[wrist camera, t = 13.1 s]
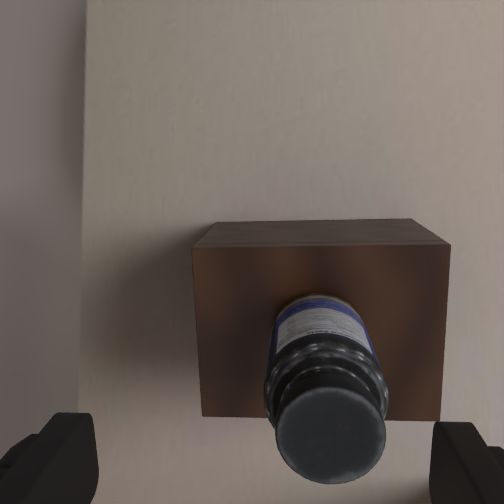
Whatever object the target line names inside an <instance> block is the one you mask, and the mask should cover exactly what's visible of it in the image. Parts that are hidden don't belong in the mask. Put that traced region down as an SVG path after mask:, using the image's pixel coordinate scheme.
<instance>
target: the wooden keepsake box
mask: <svg viewBox="0 0 504 504" xmlns="http://www.w3.org/2000/svg"><path fill="white" fill-rule="evenodd" d="M191 250H192V266H193V281H194V297H195V313H196V329H197V345H198V361H199V377H200V393H201V408H202V416H203V417H250V418H268V416H267V414H266V410H265V406H264V399H263V392H264V391H263V390H264V381H265V374H266V367H267V358H268V350H269V342H270V335H271V328H272V325H273V323H274V321H275V319H276V317H277V315H278V314H279V313H280V311H281V310H282V309H283V308H284V306H286V305H287V304H288V303H289V302H290V301H292V300H293V299H295V298H298V297H301V296H303V295H307V294H312V293H323V294H329V295H333V296H335V297H338V298H340V299H342V300H344V301H346V302H347V303H349V304H350V305H351V306H352V307H353V308H354V309H355V310H356V311H357V312H358V313H359V315H360V317H361V319H362V321H363V323H364V325H365V328H366V330H367V333H368V335H369V338H370V341H371V343H372V346H373V348H374V351H375V354H376V356H377V359H378V361H379V364H380V366H381V369H382V371H383V374H384V376H385V379H386V382H387V387H388V391H389V394H388V396H389V401H388V409H387V414H386V417H385V420H394V421H440V412H441V396H442V380H443V365H444V349H445V333H446V317H447V301H448V285H449V269H450V253H451V245H450V244H449V243H447V242H446V241H444V240H443V239H441V238H440V237H438V236H437V235H435V234H434V233H432V232H431V231H429V230H428V229H426V228H425V227H423V226H422V225H420V224H419V223H417V222H416V221H414V220H413V219H363V220H307V221H252V222H216V223H215V225H214V226H213V227H212V228H211V229H210V230H209V231H208V232H207V233H206V234H205V235H204V236H203V237H202V238H201V239H200V240H199V241H198V242H197V243H196V244H195V245H194V246H193V247H192V249H191Z"/></svg>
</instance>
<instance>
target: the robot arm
mask: <svg viewBox="0 0 504 504" xmlns="http://www.w3.org/2000/svg"><path fill="white" fill-rule="evenodd" d="M98 477H99V467H98V458H97V450H96V441H95V433H94V424H93V419H92V416H91V415H90V414H89V413H62V412H61V413H60V412H59V413H56V414H55V415H54V416H53V417H52V418H51V419H50V420H49V422H48V423H47V424H46V425H45V427H44V428H43V429H42V430H41V431H40V433H39V434H31V435H29V436H28V437H26V438H25V439H24V440H22V441H21V442H19V443H17V444H16V445H14V446H13V447H12V448H10V449H9V451H8V452H7V453H6V454H5V455H4V456H3V458H2V459H1V460H0V504H90V503H91V501H92V499H93V497H94V495H95V492H96V488H97V484H98ZM429 491H430V498H431V503H432V504H504V450H503V449H502V448H501V447H495V446H487V445H486V443H485V442H484V440H483V439H482V437H481V435H480V434H479V432H478V431H477V429H476V428H475V426H474V425H473V424H472V423H471V422H435V424H434V428H433V437H432V449H431V462H430V474H429Z"/></svg>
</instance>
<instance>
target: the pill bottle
mask: <svg viewBox="0 0 504 504" xmlns="http://www.w3.org/2000/svg"><path fill="white" fill-rule="evenodd" d="M263 391H264V392H263V399H264V406H265V410H266V414H267V416H268V419H269V421H270V423H271V424H272V426H273V428H274V429H275V436H276V443H277V447H278V450H279V452H280V454H281V456H282V458H283V459H284V461H285V462H286V463H287V465H288V466H289V467H290V468H291V469H292V470H293V471H295V472H296V473H298V474H299V475H301V476H302V477H304V478H306V479H309V480H310V481H314V482H318V483H323V484H341V483H347V482H350V481H353V480H355V479H358V478H360V477H361V476H364V475H365V474H366V473H368V472H369V471H370V470H371V469H372V468H373V467H374V466H375V465H376V464H377V462H378V461H379V459H380V457H381V455H382V452H383V450H384V447H385V442H386V428H385V423H384V420H385V417H386V414H387V409H388V401H389V396H388V394H389V391H388V387H387V382H386V379H385V376H384V374H383V371H382V369H381V366H380V364H379V361H378V359H377V356H376V354H375V351H374V348H373V346H372V343H371V341H370V338H369V335H368V333H367V330H366V328H365V325H364V323H363V321H362V319H361V317H360V315H359V313H358V312H357V311H356V310H355V309H354V308H353V307H352V306H351V305H350V304H349V303H347V302H346V301H344V300H342V299H340V298H338V297H335V296H333V295H329V294H323V293H312V294H307V295H303V296H301V297H298V298H295V299H293V300H292V301H290V302H289V303H288V304H287V305H286V306H284V308H283V309H282V310H281V311H280V313H279V314H278V315H277V317H276V319H275V321H274V323H273V325H272V328H271V335H270V342H269V350H268V358H267V367H266V374H265V381H264V390H263Z"/></svg>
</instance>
